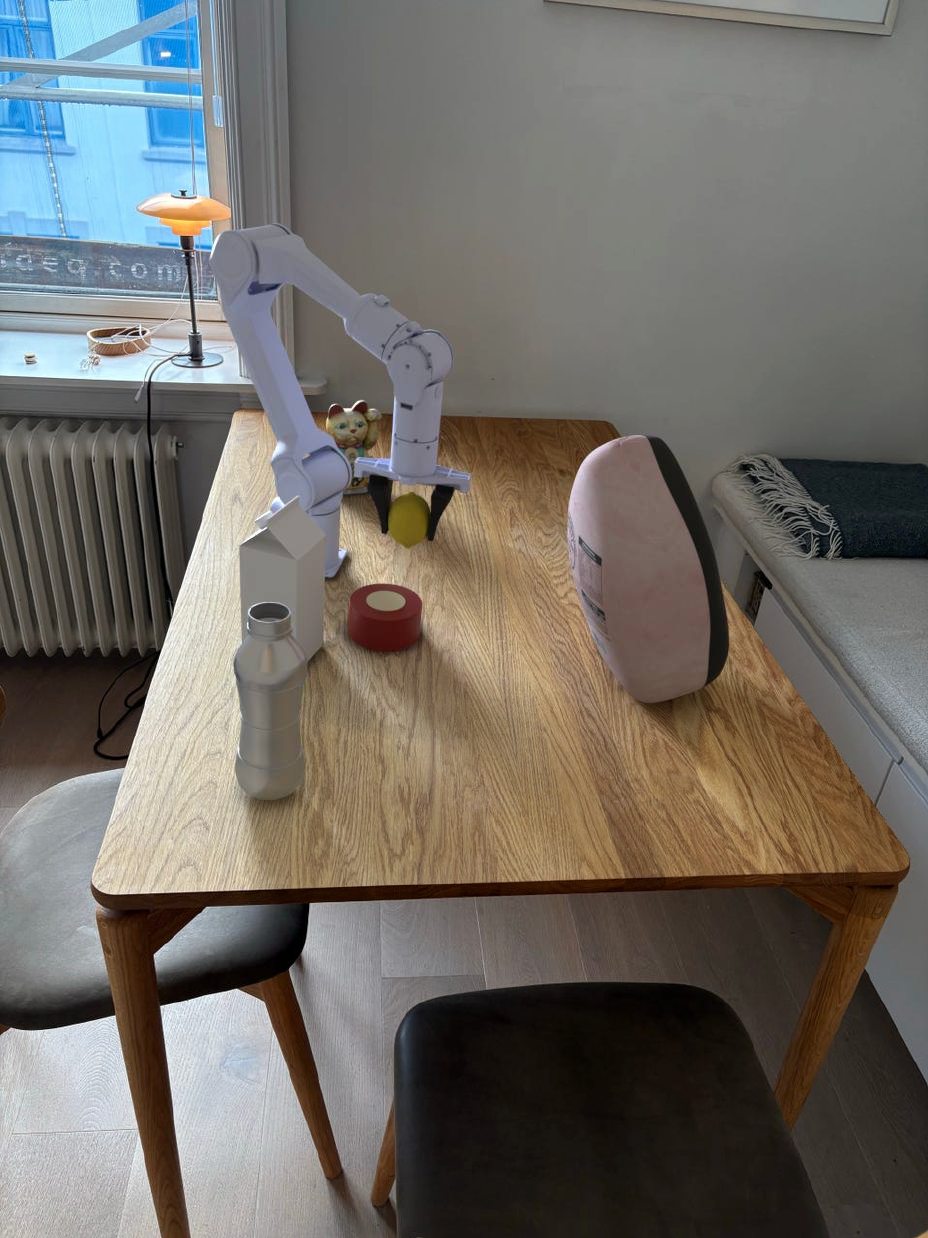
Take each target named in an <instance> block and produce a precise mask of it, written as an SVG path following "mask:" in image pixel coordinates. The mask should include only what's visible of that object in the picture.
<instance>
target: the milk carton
mask: <svg viewBox="0 0 928 1238" xmlns="http://www.w3.org/2000/svg"><path fill="white" fill-rule="evenodd" d="M254 524H255V525H256V526H257V527H258V529H259V530H257V531H256V532H254V533H253V534H252V535H251V536H249V537H248V538H247V539H245V540H244V541H243V542H242V543H240V544H239V545H238V546H239V548H238V549H239V551H238V553H239V554H238V556H239V558H238V559H239V591H240V592H239V594H240V595H239V596H240V597H239V599H240V631H241V633H240V637H241V644H242V643H243V641H244V640H245V639H246V638H247V637H248V636H249V633H248V631H247V623H248V610H249V609H250V607H252V606H253V605H255V604H258V603H263V602H276V603H281V604H283V605H286V606H287V607H288V608H289V609H290V611H291V622H292V628H293V630H292V633H291V635H292V636H293V637H294V638H295V639H296V640H297V641H298V643H299V644H300V645H301V646H302V648H303V649H304V651H305V654H306V657H307V662H309V661H311V659H312V657H313V656H314V655H315V654H316V653H317V652H318V651H319V650H321V648H322V647H323V645H324V625H325V624H324V623H325V589H326V588H325V587H326V585H325V583H326V582H325V581H326V577H325V551H326V534H325V533H324V532H323V531H322V530H321V528H320V527H319V526H318V525H317V524H316V523H315V522H314V521H313V519H312V518H311V517H310V516H309V515H308V514H307V513H306V512H305V510H304V509H303V508H302V507H301V506H300V505H299V496H296V497H295V498H293V499H292V500H291V501H289V502H288V503H287V504H285V505H284V506H283V507H282V508H280V509H279V510H278V511H276V512H275V513H274V514H273V513H272V512H271V511H270V510H269V511H267V512H265V513H264V514H262V515H260V516H258V517H257V518H256V519H255V520H254Z"/></svg>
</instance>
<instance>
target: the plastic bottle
mask: <svg viewBox="0 0 928 1238" xmlns="http://www.w3.org/2000/svg"><path fill="white" fill-rule="evenodd" d="M292 630H293V628H292V622H291V611H290V609H289V608H288V607H287V606H286V605H283V604H281V603H276V602H263V603H258V604H255V605H253V606H252V607H250V609H249V610H248V623H247V631H248V633H249V636H248V637H247V638H246V639H245V640H244V641H243V643H242V642H241V644H240V645H239V647H238V648H237V649H236V652H235V655H234V659H233V660H232V661H233V662H232V663H233V664H232V666H233V674H234V679H235V685H236V689H237V695H238V700H239V711H240V733H239V743H238V747H237V751H236V755H235V763H234V772H235V776H236V780H237V783H238V785H239V787H240V788H241V789H242V790H243V791H244V792H245V793H246V794H247V795H248V796H250V797H251V798H254V799H257V800H261V801H275V800H281V799H283V798H286V797H288V796H290V795H291V794H293V793H294V792H295V791H296V790H297V789H298V788H299V787H300V786H301V785H302V784H301V783H302V782H303V780H304V774H305V771H306V758H305V752H304V747H303V745H302V733H301V709H302V699H303V697H302V696H303V692H304V687H305V683H306V682H305V681H306V677H307V673H308V664H309V663H308V662H309V661H308V662H307V657H306V654H305V651H304V649H303V648H302V646H301V645H300V644H299V643H298V641H297V640H296V639H295V638H294V637H293V636H292V635H291V633H292Z"/></svg>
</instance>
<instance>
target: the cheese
mask: <svg viewBox="0 0 928 1238" xmlns="http://www.w3.org/2000/svg"><path fill="white" fill-rule="evenodd" d="M422 612H423V600H422V598H421V596H420V595H419V594H417V593H416V592H415V591H414V590H412V589H410V588H408V587H406V586H403V585H398V584H394V583H385V582H384V583H372V584H366V585H364V586H363V585H362V586H361V587H358V588H356V589H355V590H354V591H353V592H351V594H350V596H349V599H348V617H347V618H348V620H347V621H348V622H347V634H348V637H349V639H351V640H352V641H353V642H354V643H355V644H356V645H358V646H359V647H362V648H364V649H367V650H370V651H374V652H375V651H376V652H383V653H385V652H386V653H387V652H389V653H390V652H398V651H402V650H406V649H408V648H411V647H412V646H414V645H415V644H416V643H417V642H418V640H419V639H420V636H421V625H422V615H423V614H422Z"/></svg>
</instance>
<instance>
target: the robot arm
mask: <svg viewBox="0 0 928 1238" xmlns="http://www.w3.org/2000/svg"><path fill="white" fill-rule="evenodd" d="M208 264H209V267H210V270H211V271H212V274H213V277H214V279H215V281H216V284H217V286H218V288H219V289H218V290H219V296H220V297H219V298H220V304H221V309H222V313H223V315H224V318H225V321H226V323H227V325H228V327H229V330H230V332H231V334H232V337H233V340H234V342H235V344H236V346H237V349H238V352H239V354H240V356H241V358H242V361H243V363H244V366H245V368H246V370H247V373H248V375H249V377H250V380H251V382H252V385H253V387H254V389H255V392H256V395H257V397H258V399H259V401H260V404H261V406H262V408H263V411H264V413H265V416H266V418H267V420H268V422H269V423H268V424H269V425H270V427H271V430H272V432H273V435H274V437H275V440H276V442H277V443H276V446H275V449H274V451H273V455H272V456H271V459H270V462H269V463H270V466H271V469H272V472H273V474H274V486H275V491H276V494H277V497H275V498H274V499H273V501H272V503H271V505H270V508H269V511H271V512H272V513H273V514H274V513H275V512H276V511H278V510H279V509H280V508H282V507H283V506H284V505H285V504H287V503H288V502H289V501H291V500H292V499H293V498H295V497H296V496H299V505H300V506H301V507H302V508H303V509H304V510H305V512H306V513H307V514H308V515H309V516H310V517H311V518H312V519H313V521H314V522H315V523H316V524H317V525H318V526H319V527H320V528H321V530H322V531H323V532H324V533H325V534H326V551H325V578H330V579H331V578H332V579H333V578H334V577H335V576H336V574H337V573H338V571H339V569H340V567H341V565H342V564H343V562H344V560H345V558H346V557H347V554H348V550H347V549H343V548H340V537H341V536H340V535H341V534H340V532H341V507H342V506H341V505H342V504H341V503H342V500H343V495H344V494H343V491H344V490H345V489H346V488H347V487H348V486H349V485H350V483H351V480H352V469H351V465H350V463H349V461H348V459H347V458H346V456H345V455H344V454H343V453H342V452H341V451H340V450H339V449H338V447H337V445H336V443H335V441H334V438H333V437H332V436H331V435H329V434H328V432H327V431H326V432H325V431H324V430H322V429H320V428H318V426H317V424H316V422H315V419H314V417H313V415H312V412H311V410H310V407H309V405H308V402H307V400H306V398H305V394H304V392H303V390H302V388H301V385H300V382H299V380H298V378H297V376H296V373H295V370H294V368H293V365H292V363H291V361H290V358H289V356H288V353H287V351H286V348H285V346H284V343H283V341H282V339H281V336H280V334H279V331H278V329H277V326H276V323H275V321H274V319H273V316H272V313H271V308H272V305H273V303H274V300H275V298H276V296H277V294H278V292H279V291H280V290H281V288H282V287H283V286H284V285H286V284H288V285H289V284H290V285H292V286H294V287H295V288H297V289H298V290H300V291H302V292H303V293H304V294H306V295H307V296H309V297H310V298H312V300H314V301H316V302H318V303H319V304H321V305H322V306H323V307H325V308H326V309H327V310H329V311H331V312H332V313H334V314H335V315H337V316H338V317H340V318H341V319H342V320H343V326H344V331H345V333H346V335H347V336H349V338H351V339H353V340H354V341H355V342H356V343H357V344H359V345H360V346H361V347H362V348H364V349H365V350H366V351H368V352H369V353H370V354H372V355H373V356H374V357H375V358H377V359H378V360H380V362H382V363H383V364H385V365H386V370H387V372H388V375H389V377H390V379H391V382H392V385H393V396H394V401H393V402H394V403H393V415H392V433H391V446H390V447H391V449H390V458H376V457H374V458H361V457H358V458H357V460H356V461H355V464H354V477H359V478H362V477H363V476H367V477H369V483H368V485H367V493H368V494H369V496H370V498H371V500H372V502H373V505H374V507H375V510H376V512H377V516H378V520H379V525H380V532H381V533H380V534H382V535H387V534H388V533H389V528H388V515H389V510H390V507H391V505H392V494H393V485H394V482H398V484H400V485H405V486H411V487H413V486H416V485H420V486H428V487H434V489H433V491H432V492H431V494H430V513H431V515H430V524H429V530H428V535H427V542H434V540H435V537H436V535H437V529H438V525H439V522H440V520H441V518H442V516H443V513H444V512H445V511H446V509H447V507H448V505H449V504H450V503H451V501H452V499H453V496H454V493H455V491H459V493H461V494H469V492H470V488H471V482H472V481H471V480H472V474H471V473H469V472H464V471H459V470H457V469H453V468H449V467H445V466H442V465H439V464H437V462H438V451H439V439H440V429H441V418H442V417H441V416H442V407H443V395H444V394H443V393H444V383H445V380H444V378H445V377H446V376H448V375H449V374H450V372H451V371H452V369H453V367H454V364H455V353H454V349H453V345H452V344H451V343H450V341H449V340H448V338H446V337H445V336H444V334H443V333H442V332H441V331H439V330H435V329H422V328H421V327H422V326H421V325H420V324H419V323H418V322H417V321H415V320H413V321H411V320H409V318H407V317H406V316H404V315H403V314H402V313H400V312H399V311H398V310H396V309H395V308H394V307H392V306H391V305H390V304H391V300H390V298H388V297H387V296H385V295H384V294H380V295H377V294H375V293H366V294H362V295H361V294H360V293H358V292H357V291H356V290H355V289H354V288H353V287H352V286H350V285H349V284H348V283H347V282H346V281H345V280H344V279H342V278H341V276H339V275H338V274H337V273H335V271H333V270H332V269H331V267H329V266H327V264H326V263H324V262H323V261H322V260H321V259H319V258H318V257H317V256H316V255H315V254H314V253H313V252H311V250H309V249H308V247H307V245H306V243H305V241H304V239H303V237H301V236H299V235H297V234H296V233H293V231H291V229H290V228H288V227H287V226H285V224H281V223H278V222H274V223H273V222H272V223H269V224H266V225H263V226H257V227H256V226H255V227H249V228H243V229H237V230H236V229H226V230H224V231H221V232H220V233H219V234H218V235H217V237H216V238H215V240H214V243H213V246H212V248H211V252H210V255H209V259H208ZM307 455H308V456H307ZM305 456H307V457H305Z"/></svg>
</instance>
